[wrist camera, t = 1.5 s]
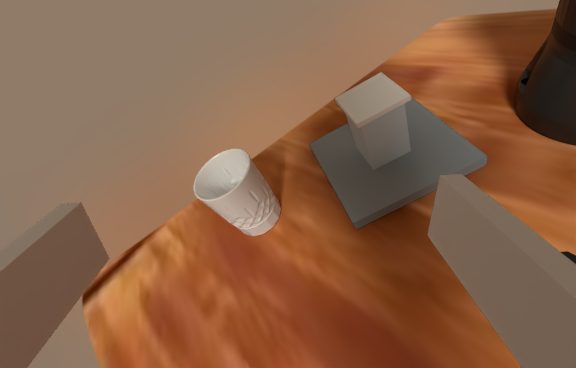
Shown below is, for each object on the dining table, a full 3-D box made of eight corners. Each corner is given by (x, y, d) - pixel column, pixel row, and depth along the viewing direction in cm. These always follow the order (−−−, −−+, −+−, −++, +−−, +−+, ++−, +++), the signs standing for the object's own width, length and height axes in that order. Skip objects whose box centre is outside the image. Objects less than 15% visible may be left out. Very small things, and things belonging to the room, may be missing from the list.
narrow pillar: (405, 99, 42) (397, 36, 35) (486, 165, 31) (497, 91, 24) (311, 150, 44) (286, 100, 37) (356, 229, 33) (331, 178, 26)
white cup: (244, 195, 44) (206, 153, 37) (289, 190, 41) (257, 143, 34) (230, 240, 40) (183, 203, 33) (278, 240, 36) (238, 198, 29)
